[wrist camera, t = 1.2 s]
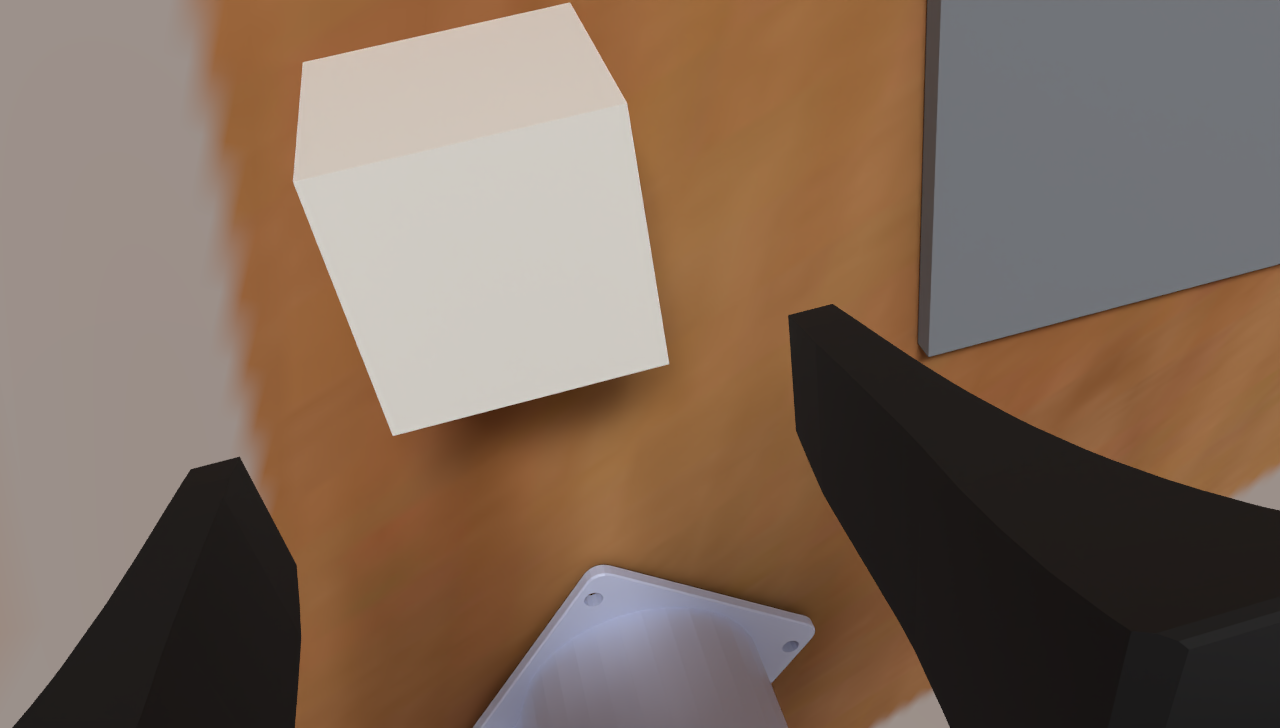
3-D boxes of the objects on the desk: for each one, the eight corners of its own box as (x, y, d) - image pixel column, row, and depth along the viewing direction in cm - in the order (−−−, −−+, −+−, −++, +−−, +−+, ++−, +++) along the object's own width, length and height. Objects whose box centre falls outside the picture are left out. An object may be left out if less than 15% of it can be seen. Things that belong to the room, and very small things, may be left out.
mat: (1312, 239, 27) (1329, 251, 27) (917, 343, 26) (928, 357, 26) (1454, -236, 20) (1480, -232, 20) (930, -121, 19) (945, -113, 19)
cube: (612, 230, 22) (669, 364, 19) (383, 286, 22) (393, 435, 18) (569, 1, 19) (627, 102, 15) (303, 61, 19) (293, 181, 15)
